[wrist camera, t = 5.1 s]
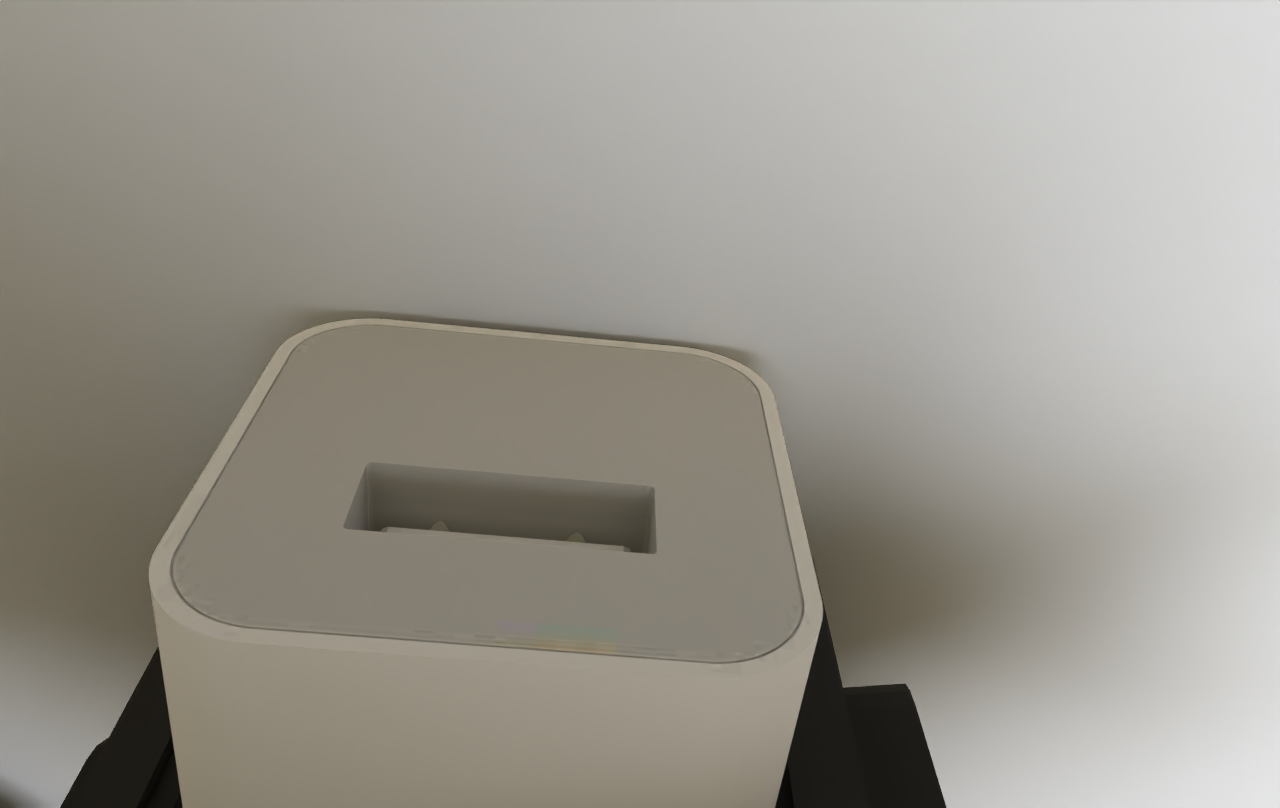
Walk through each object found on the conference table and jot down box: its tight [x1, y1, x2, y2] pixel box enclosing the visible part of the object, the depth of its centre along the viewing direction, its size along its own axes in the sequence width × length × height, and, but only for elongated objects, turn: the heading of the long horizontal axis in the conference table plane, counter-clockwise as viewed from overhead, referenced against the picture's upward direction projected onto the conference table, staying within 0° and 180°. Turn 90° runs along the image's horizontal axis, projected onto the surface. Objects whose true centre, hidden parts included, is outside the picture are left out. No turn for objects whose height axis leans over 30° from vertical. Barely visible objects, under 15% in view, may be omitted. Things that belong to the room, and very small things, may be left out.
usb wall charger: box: [149, 318, 823, 808], centre depth 9 cm, size 4×7×4 cm, turn 174°
